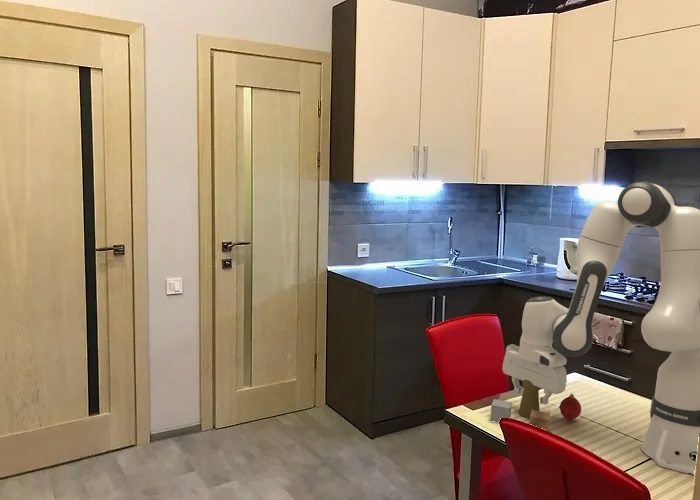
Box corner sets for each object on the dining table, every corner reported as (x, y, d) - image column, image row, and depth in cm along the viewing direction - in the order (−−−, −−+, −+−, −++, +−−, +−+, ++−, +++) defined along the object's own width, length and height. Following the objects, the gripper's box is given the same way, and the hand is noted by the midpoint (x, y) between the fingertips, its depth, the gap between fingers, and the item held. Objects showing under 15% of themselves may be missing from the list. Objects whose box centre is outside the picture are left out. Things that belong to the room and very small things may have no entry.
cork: (542, 419, 171) (546, 382, 169) (521, 418, 171) (524, 381, 170) (536, 411, 177) (539, 375, 175) (515, 409, 177) (519, 374, 176)
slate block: (510, 418, 171) (511, 402, 170) (508, 425, 166) (509, 408, 165) (492, 415, 172) (493, 398, 172) (490, 421, 168) (491, 404, 167)
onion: (581, 426, 168) (584, 399, 167) (560, 423, 169) (562, 396, 168) (577, 418, 174) (580, 391, 173) (557, 415, 175) (560, 389, 174)
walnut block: (548, 430, 164) (550, 413, 164) (547, 437, 160) (549, 419, 159) (529, 426, 166) (531, 409, 165) (528, 433, 161) (530, 416, 161)
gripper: (500, 343, 178) (496, 387, 180) (557, 363, 161) (552, 412, 163) (514, 341, 182) (510, 384, 184) (571, 360, 165) (566, 408, 167)
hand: (530, 397), depth 173 cm, fingers open, 8 cm apart
